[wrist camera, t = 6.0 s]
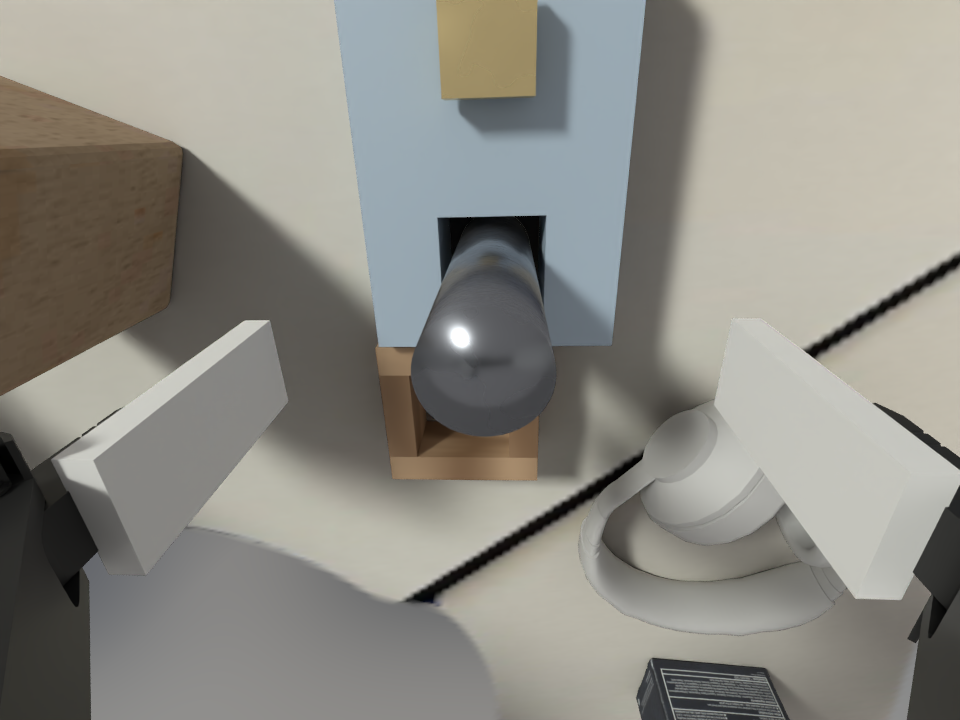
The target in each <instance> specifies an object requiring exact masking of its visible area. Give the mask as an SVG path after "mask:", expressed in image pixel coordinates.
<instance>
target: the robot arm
mask: <svg viewBox="0 0 960 720" xmlns="http://www.w3.org/2000/svg"><path fill="white" fill-rule="evenodd" d="M288 402H289V401H288V397H287V392H286V388H285V384H284V379H283V375H282V371H281V366H280V362H279V357H278V353H277V349H276V344H275V340H274V336H273V331H272V327H271V323H270V320H245V321H243V322H242V323H240V324H239V325H238V326H236V327H235V328H233V329H232V330H231V331H229V332H228V333H226V334H225V335H224V336H222V337H221V338H219V339H218V340H217V341H215V342H214V343H213V344H211V345H210V346H208V347H207V348H206V349H204V350H203V351H201V352H200V353H199V354H197V355H196V356H194V357H193V358H192V359H190V360H189V361H187V362H186V363H185V364H183V365H182V366H180V367H179V368H178V369H176V370H175V371H174V372H172V373H171V374H169V375H168V376H167V377H165V378H164V379H162V380H161V381H160V382H158V383H157V384H155V385H154V386H153V387H151V388H150V389H148V390H147V391H146V392H144V393H143V394H141V395H140V396H139V397H137V398H136V399H134V400H133V401H132V402H130V403H129V404H128V405H126V406H124V407H122V408H120V409H118V410H116V411H114V412H113V413H112V414H110V415H109V416H107V417H106V418H105V419H103V420H102V421H100V422H99V423H97V426H93V427H92V428H90V429H89V430H88V431H86V432H85V433H83V434H82V437H78V438H76V439H75V440H74V441H72V442H71V443H69V444H68V445H67V446H65V447H64V448H62V449H61V450H60V451H58V452H57V453H55V454H54V455H53V456H51V457H50V458H48V459H47V460H45V461H44V462H43V463H41V464H40V465H38V466H37V467H36V468H34V469H33V470H31V471H30V469H29V467H28V465H27V463H26V461H25V459H24V458H23V456H22V454H21V452H20V450H19V448H18V446H17V444H16V443H15V441H14V439H13V437H12V435H11V434H7V433H4V432H0V720H91V692H90V691H91V689H90V613H89V611H90V610H89V580H88V578H87V576H86V574H85V572H84V570H83V568H82V567H83V566H84V565H85V564H86V563H87V562H88V561H89V560H90V559H91V558H92V557H93V556H94V555H95V554H96V553H97V552H98V554H99V556H100V558H101V560H102V562H103V564H104V566H105V568H106V570H107V572H108V574H110V575H143V576H146V575H147V574H148V573H149V571H150V570H151V569H152V568H153V566H154V565H155V564H156V563H157V562H158V560H159V559H160V558H161V557H162V555H163V554H164V553H165V552H166V551H167V549H168V548H169V547H170V546H171V545H172V543H173V542H174V541H175V540H176V538H177V537H178V536H179V535H180V534H181V532H182V531H183V530H184V529H185V528H186V526H187V525H188V524H189V523H190V521H191V520H192V519H193V518H194V517H195V515H196V514H197V513H198V512H199V510H200V509H201V508H202V507H203V506H204V504H205V503H206V502H207V501H208V499H209V498H210V497H211V496H212V495H213V493H214V492H215V491H216V490H217V488H218V487H219V486H220V485H221V484H222V482H223V481H224V480H225V479H226V477H227V476H228V475H229V474H230V473H231V471H232V470H233V469H234V468H235V466H236V465H237V464H238V463H239V462H240V460H241V459H242V458H243V457H244V455H245V454H246V453H247V452H248V451H249V449H250V448H251V447H252V446H253V444H254V443H255V442H256V441H257V440H258V438H259V437H260V436H261V435H262V433H263V432H264V431H265V430H266V429H267V427H268V426H269V425H270V424H271V422H272V421H273V420H274V419H275V418H276V416H277V415H278V414H279V413H280V411H281V410H282V409H283V408H284V407H285V405H286V404H287V403H288ZM714 406H715V407H716V408H717V410H718V411H719V412H720V414H721V415H722V417H723V418H724V419H725V421H726V422H727V423H728V425H729V426H730V427H731V429H732V430H733V432H734V433H735V434H736V436H737V437H738V438H739V440H740V441H741V443H742V444H743V445H744V447H745V448H746V449H747V451H748V452H749V454H750V455H751V456H752V458H753V459H754V460H755V462H756V463H757V465H758V466H759V467H760V469H761V470H762V471H763V473H764V474H765V475H766V477H767V478H768V480H769V481H770V482H771V484H772V485H773V486H774V488H775V489H776V491H777V492H778V493H779V495H780V496H781V497H782V499H783V500H784V502H785V503H786V504H787V506H788V507H789V508H790V510H791V511H792V512H793V514H794V515H795V517H796V518H797V519H798V521H799V522H800V523H801V525H802V526H803V528H804V529H805V530H806V532H807V533H808V534H809V536H810V537H811V539H812V540H813V541H814V543H815V544H816V545H817V547H818V548H819V549H820V551H821V552H822V554H823V555H824V556H825V558H826V559H827V560H828V562H829V563H830V565H831V566H832V567H833V569H834V570H835V571H836V573H837V574H838V576H839V577H840V578H841V580H842V581H843V582H844V584H845V585H846V586H847V588H848V589H849V591H850V592H851V593H852V595H853V596H854V597H855V599H883V600H902V598H903V596H904V594H905V592H906V590H907V588H908V586H909V584H910V582H911V580H912V578H913V576H914V574H915V575H916V577H917V578H918V579H919V580H920V581H921V582H922V583H923V584H924V585H925V587H926V588H927V589H928V590H929V591H930V592H931V593H932V594H931V596H930V598H929V600H928V602H927V604H926V605H925V607H924V609H923V611H922V613H921V615H920V616H919V618H918V620H917V622H916V624H915V626H914V628H913V629H912V631H911V633H910V635H909V637H908V639H909V640H911V641H913V642H915V643H916V642H917V641H918V639H919V642H918V649H917V656H916V662H915V669H914V676H913V682H912V689H911V696H910V702H909V709H908V716H907V720H960V457H958V456H957V455H956V454H954V453H953V452H952V451H950V450H949V449H948V448H946V447H941V445H940V444H941V443H939V442H938V441H937V440H935V439H934V438H933V437H931V436H930V435H929V434H924V433H923V430H922V429H920V428H919V427H918V426H916V425H915V424H914V423H912V422H911V421H910V420H908V419H907V418H905V417H904V416H903V415H900V414H898V413H896V412H894V411H892V410H890V409H888V408H885V407H883V406H881V405H879V404H877V403H871V402H870V401H869V400H867V399H866V398H865V397H863V396H862V395H861V394H859V393H858V392H857V391H856V390H854V389H853V388H852V387H850V386H849V385H848V384H846V383H845V382H844V381H842V380H841V379H840V378H839V377H837V376H836V375H835V374H833V373H832V372H831V371H829V370H828V369H827V368H825V367H824V366H823V365H821V364H820V363H819V362H818V361H816V360H815V359H814V358H812V357H811V356H810V355H808V354H807V353H806V352H804V351H803V350H802V349H801V348H799V347H798V346H797V345H795V344H794V343H793V342H791V341H790V340H789V339H787V338H786V337H785V336H784V335H782V334H781V333H780V332H778V331H777V330H776V329H774V328H773V327H772V326H770V325H769V324H768V323H766V322H765V321H764V320H763V319H761V318H732V320H731V325H730V330H729V335H728V339H727V344H726V349H725V354H724V358H723V363H722V368H721V373H720V377H719V382H718V387H717V392H716V396H715V401H714Z"/></svg>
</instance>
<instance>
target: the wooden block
mask: <svg viewBox="0 0 960 720" xmlns="http://www.w3.org/2000/svg"><path fill="white" fill-rule="evenodd" d="M182 159H183V152H182V148H181V147H180V146H178V145H177V144H175V143H174V142H172V141H169V140H167V139H164V138H161V137H159V136H156V135H154V134H151V133H148V132H146V131H143V130H140V129H138V128H135V127H133V126H130V125H127V124H125V123H122V122H120V121H117V120H114V119H112V118H109V117H106V116H104V115H101V114H99V113H96V112H93V111H91V110H88V109H86V108H83V107H80V106H78V105H75V104H72V103H70V102H67V101H65V100H62V99H59V98H57V97H54V96H52V95H49V94H46V93H44V92H41V91H38V90H36V89H33V88H31V87H28V86H25V85H23V84H20V83H18V82H15V81H12V80H10V79H7V78H4V77H2V76H0V396H1V395H3V394H5V393H7V392H9V391H11V390H13V389H14V388H16V387H18V386H20V385H22V384H24V383H26V382H28V381H30V380H31V379H33V378H35V377H37V376H39V375H41V374H43V373H45V372H46V371H48V370H50V369H52V368H54V367H56V366H58V365H60V364H62V363H63V362H65V361H67V360H69V359H71V358H73V357H75V356H77V355H79V354H80V353H82V352H84V351H86V350H88V349H90V348H92V347H94V346H96V345H97V344H99V343H101V342H103V341H105V340H107V339H109V338H111V337H112V336H114V335H116V334H118V333H120V332H122V331H124V330H126V329H128V328H129V327H131V326H133V325H135V324H137V323H139V322H141V321H143V320H145V319H146V318H148V317H150V316H152V315H154V314H156V313H158V312H160V311H161V310H163V309H165V308H166V307H167V306H168V304H169V302H170V293H171V282H172V271H173V260H174V248H175V237H176V226H177V215H178V204H179V192H180V181H181V170H182Z"/></svg>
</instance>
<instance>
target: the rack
mask: <svg viewBox="0 0 960 720" xmlns="http://www.w3.org/2000/svg"><path fill="white" fill-rule="evenodd" d="M375 350H376V358H377V365H378V373H379V380H380V388H381V395H382V403H383V410H384V418H385V426H386V433H387V441H388V448H389V456H390V463H391V471H392V478H393V479H441V480H537V464H538V430H539V415H538V416H537V417H536V418H535V419H534V420H533V421H532V422H530V423H529V424H527V425H526V426H524V427H522V428H520V429H518V430H516V431H513V432H511V433H507V434H504V435H499V436H490V437H480V436H471V435H466V434H463V433H459V432H456V431H454V430H452V429H449V428H448V427H446V426H444V425H442V424H441V423H439V422H438V421H427V417H426V410H425V409H424V408H423V406H422V405H421V403H420V402H419V400H418V398H417V396H416V394H415V391H414V388H413V385H412V380H411V361H412V357H413V353H414V350H415V347H379V344H377V346H376V347H375Z"/></svg>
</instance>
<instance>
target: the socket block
mask: <svg viewBox="0 0 960 720" xmlns="http://www.w3.org/2000/svg"><path fill="white" fill-rule="evenodd" d="M334 4H335V11H336V19H337V27H338V35H339V42H340V50H341V58H342V66H343V73H344V81H345V89H346V97H347V104H348V112H349V120H350V128H351V135H352V143H353V151H354V159H355V166H356V174H357V182H358V190H359V197H360V205H361V213H362V220H363V228H364V236H365V244H366V251H367V259H368V267H369V275H370V282H371V290H372V298H373V306H374V313H375V321H376V329H377V337H378V344H379V347H416V345H417V343H418V340H419V338H420V335H421V333H422V330H423V328H424V325H425V323H426V321H427V318H428V316H429V313H430V311H431V308H432V306H433V303H434V301H435V299H436V296H437V294H438V291H439V289H440V286H441V284H442V281H443V279H444V277H445V274H446V272H447V269H448V267H449V264H450V262H451V259H452V254H451V235H450V217H489V216H537V215H539V245H538V284H539V288H540V293H541V298H542V302H543V307H544V312H545V316H546V321H547V326H548V330H549V335H550V340H551V344H552V346H612V338H613V328H614V318H615V308H616V297H617V287H618V277H619V267H620V257H621V247H622V237H623V227H624V216H625V206H626V196H627V186H628V176H629V166H630V156H631V146H632V136H633V125H634V115H635V105H636V95H637V85H638V75H639V65H640V55H641V44H642V34H643V24H644V14H645V4H646V0H538V2H537V53H536V96H535V97H534V98H506V99H477V100H447V101H445V100H443V99H441V82H440V63H439V45H438V27H437V8H436V0H334Z"/></svg>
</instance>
